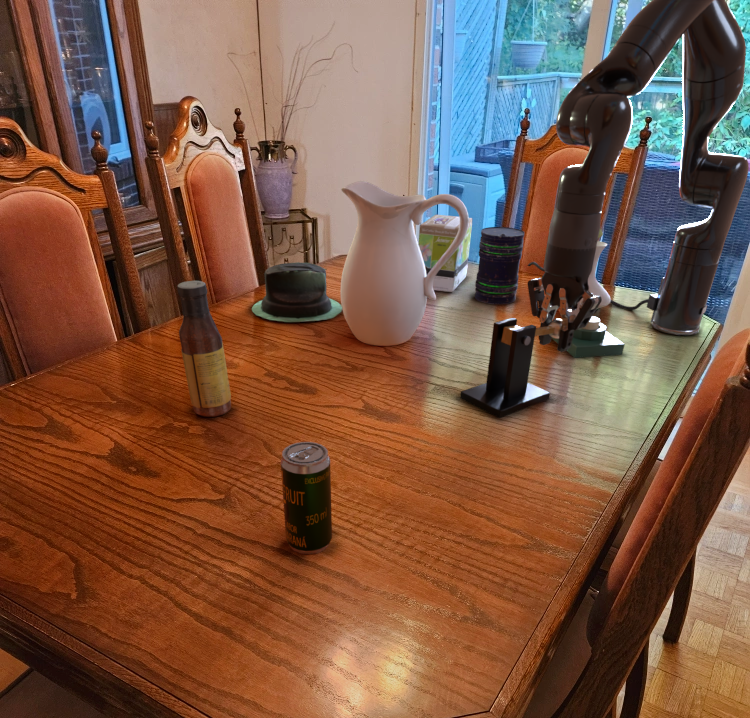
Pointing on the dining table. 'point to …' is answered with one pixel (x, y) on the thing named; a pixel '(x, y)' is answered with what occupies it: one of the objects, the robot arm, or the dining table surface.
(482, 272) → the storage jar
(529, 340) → the bracket
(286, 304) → the fedora hat
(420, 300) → the pitcher
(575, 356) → the switch block
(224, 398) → the sauce bottle
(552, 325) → the lever
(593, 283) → the flower in vase
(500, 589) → the dining table surface
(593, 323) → the button
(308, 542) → the green drink can
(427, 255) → the tea box
